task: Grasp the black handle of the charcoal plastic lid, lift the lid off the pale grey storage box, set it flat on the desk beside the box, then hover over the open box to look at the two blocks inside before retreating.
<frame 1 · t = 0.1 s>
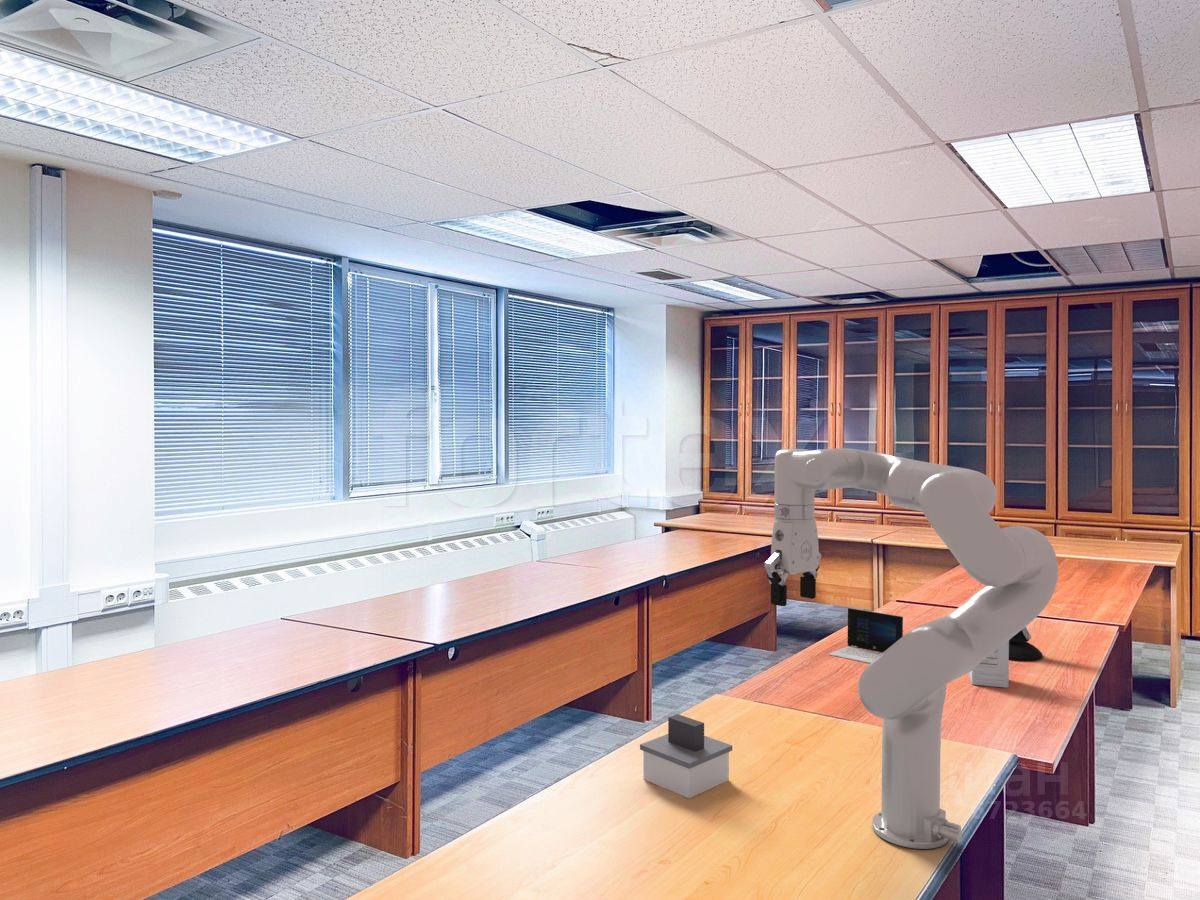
hand: (793, 601, 163), 37 cm above the table, tool pointing down, fingers open, 9 cm apart
sage block: (668, 775, 169), point 1 cm above the table, touching storage box
storage box: (686, 779, 169), on the table
laptop: (865, 658, 257), on the table
supplement box: (988, 682, 232), on the table
sculpture: (999, 652, 261), on the table
birch block: (703, 775, 169), point 1 cm above the table, touching storage box
lid: (686, 749, 169), point 6 cm above the table, touching storage box
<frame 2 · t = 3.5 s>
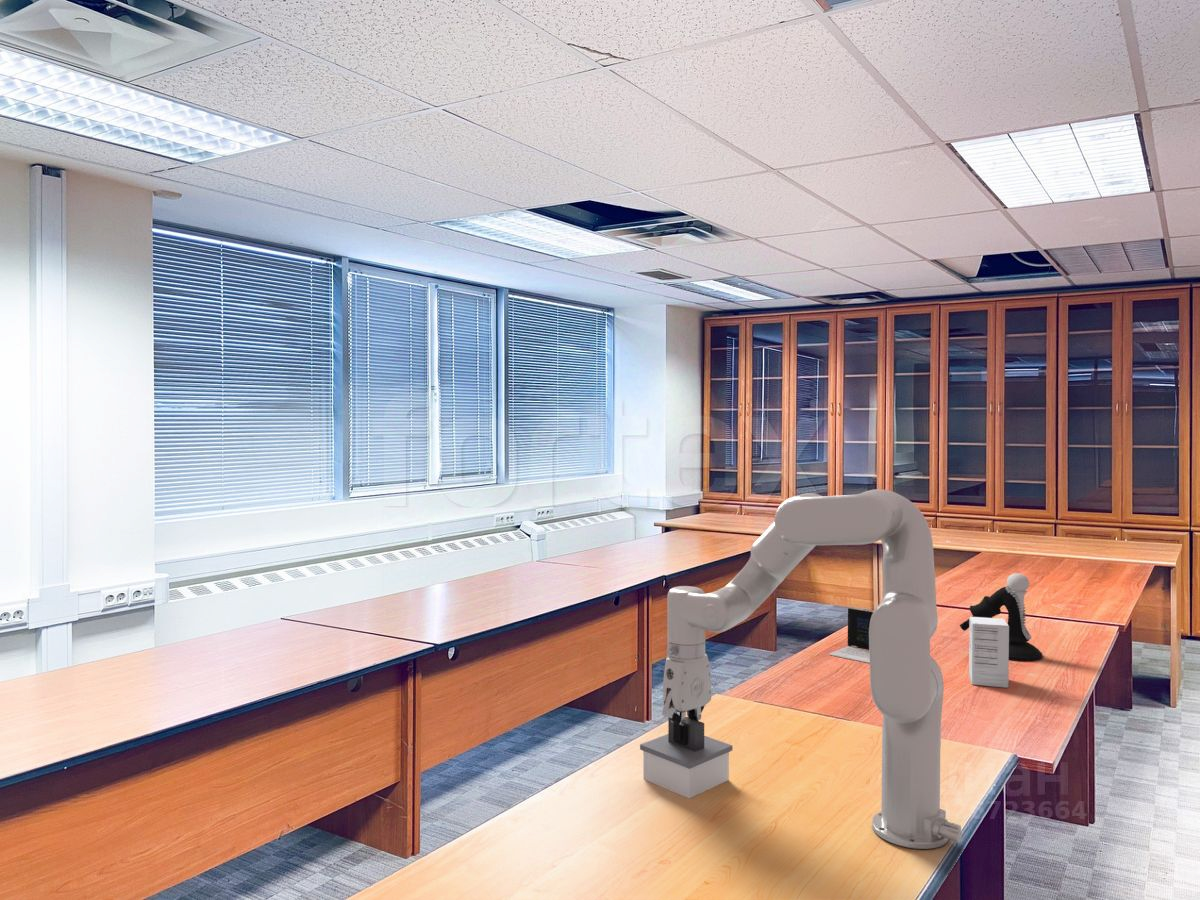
hand: (686, 740, 169), 8 cm above the table, tool pointing down, fingers closed on lid, 2 cm apart
lid: (686, 749, 169), point 6 cm above the table, touching gripper, storage box
everything else where it was.
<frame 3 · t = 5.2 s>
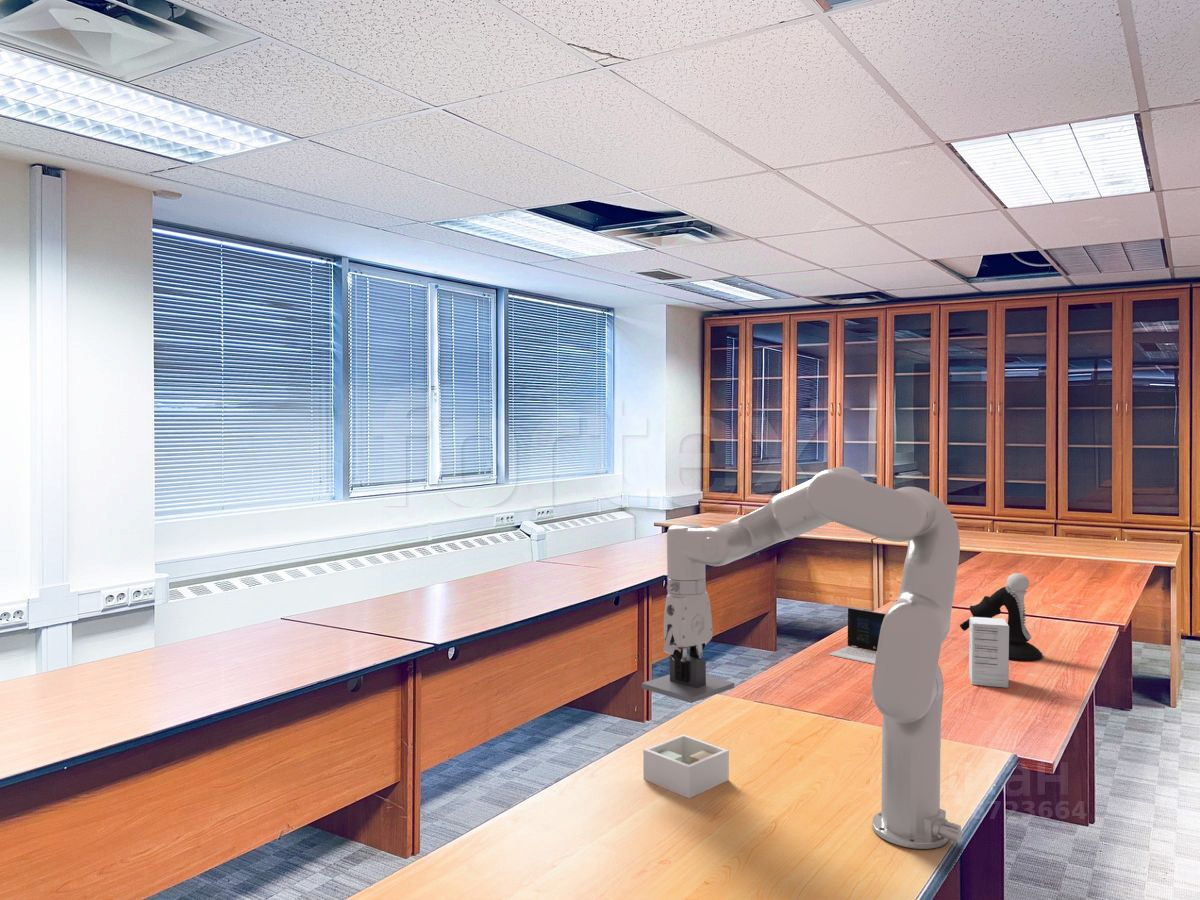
hand: (687, 678, 168), 21 cm above the table, tool pointing down, fingers closed on lid, 2 cm apart
lid: (687, 687, 168), point 19 cm above the table, touching gripper
everything else where it was.
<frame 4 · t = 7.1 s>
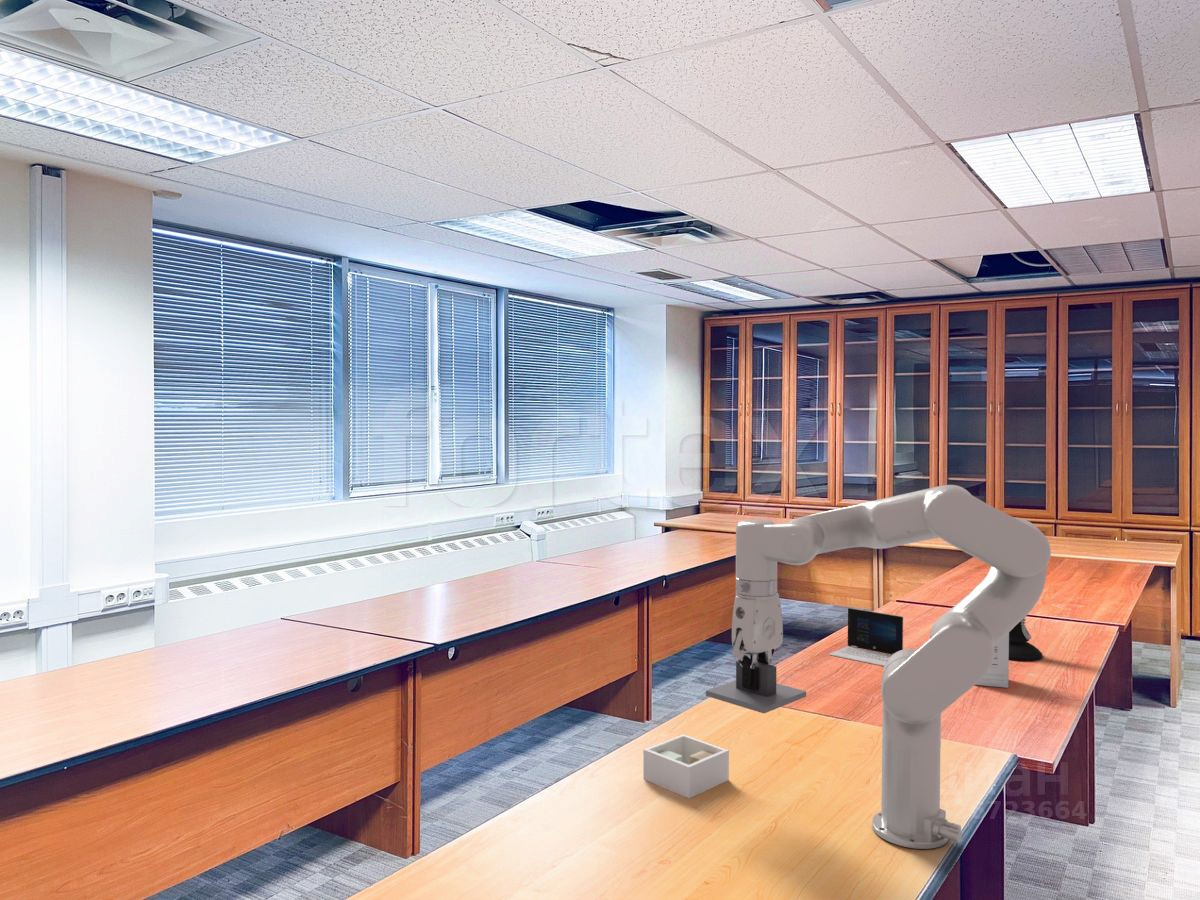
hand: (756, 685, 156), 23 cm above the table, tool pointing down, fingers closed on lid, 2 cm apart
lid: (755, 696, 156), point 21 cm above the table, touching gripper
everything else where it was.
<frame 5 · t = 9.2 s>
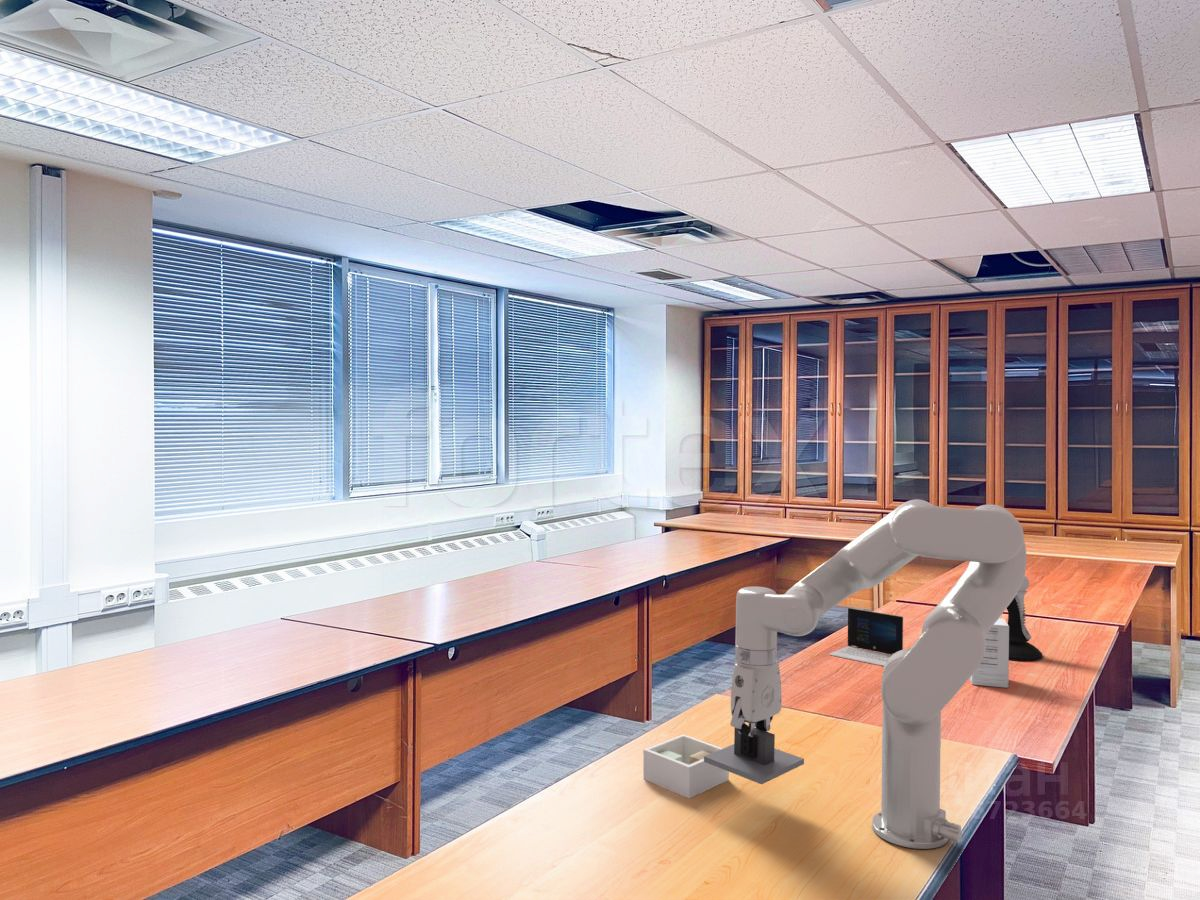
hand: (754, 752, 156), 10 cm above the table, tool pointing down, fingers closed on lid, 2 cm apart
lid: (753, 762, 156), point 8 cm above the table, touching gripper
everything else where it was.
when the fingers open (4 cm above the table, at t = 10.7 s): lid drops 3 cm, on the table.
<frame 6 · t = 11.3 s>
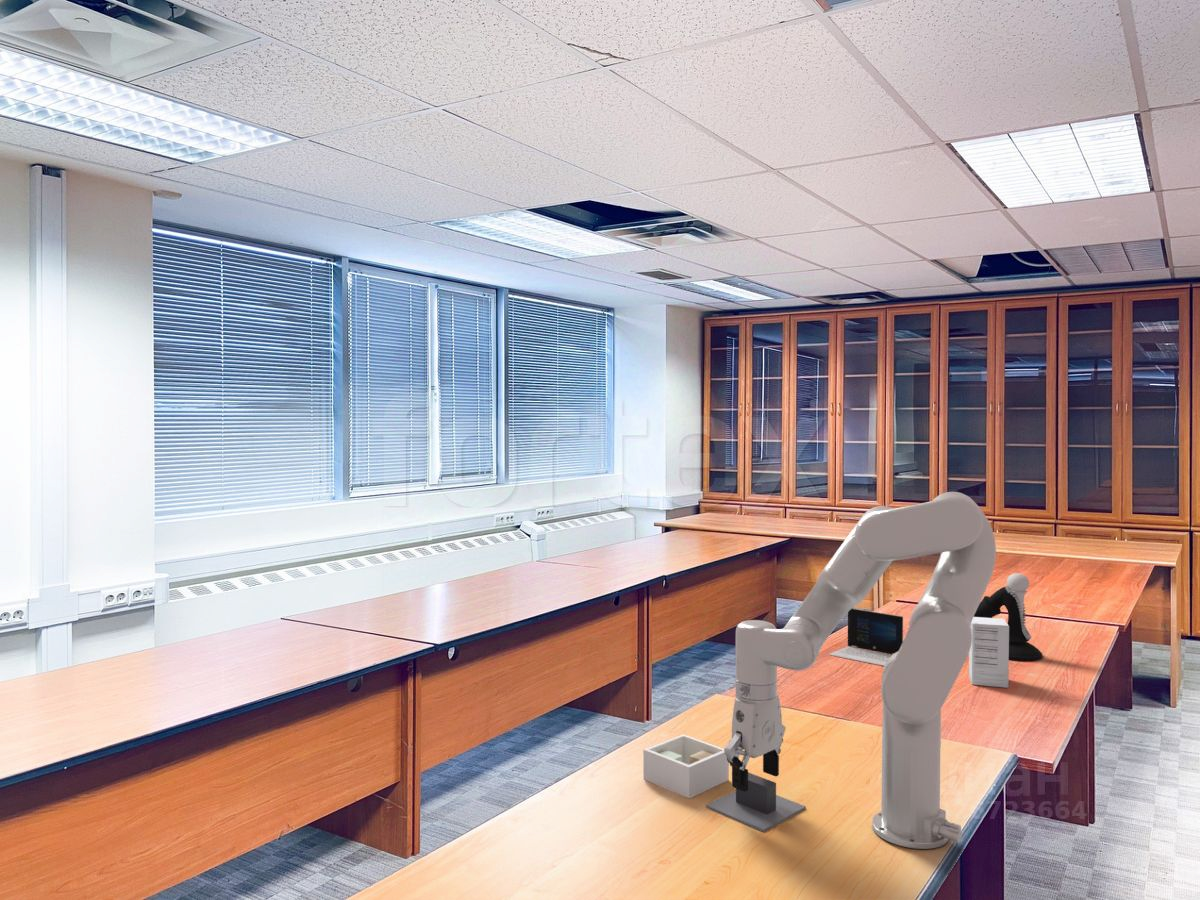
hand: (755, 781, 156), 5 cm above the table, tool pointing down, fingers open, 9 cm apart
lid: (755, 811, 157), on the table
everything else where it was.
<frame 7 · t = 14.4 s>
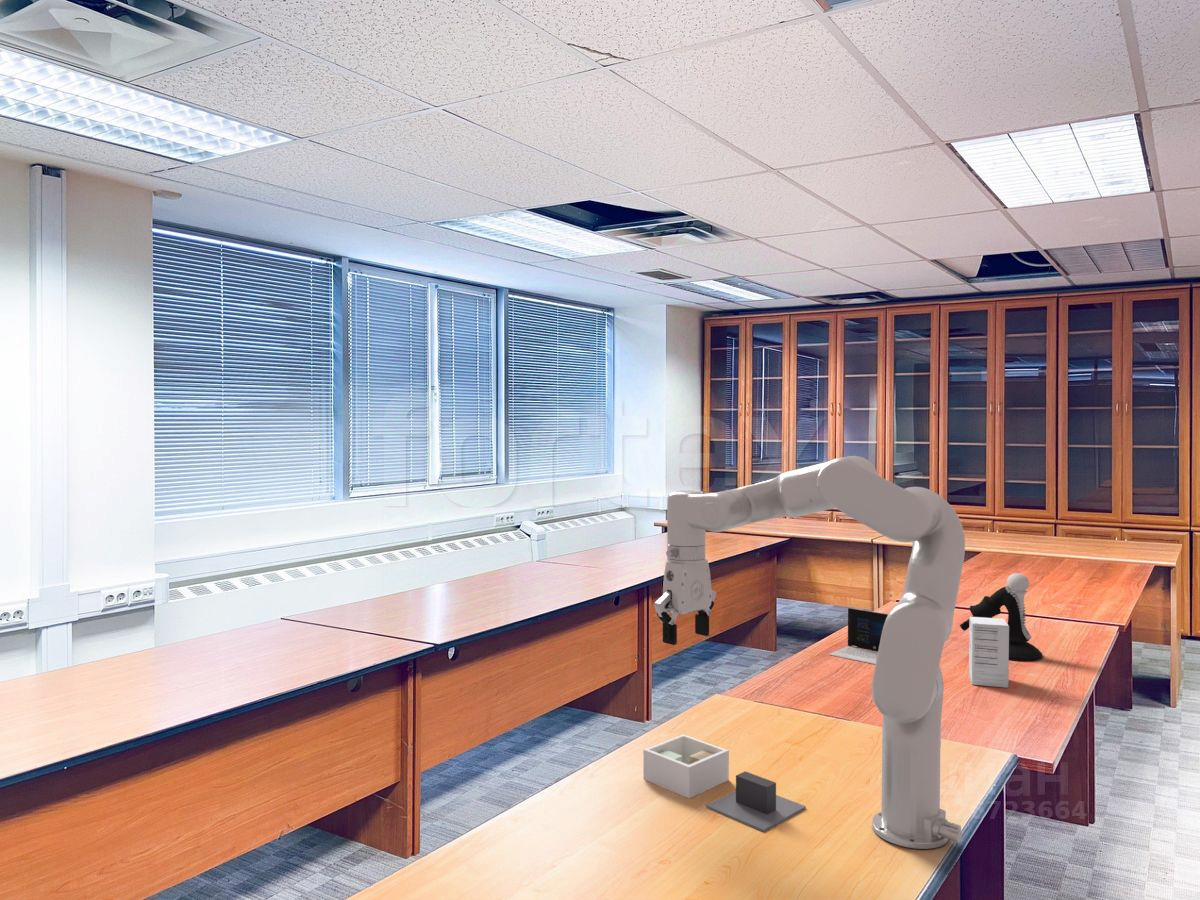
hand: (686, 639, 168), 28 cm above the table, tool pointing down, fingers open, 9 cm apart
nothing on the table moved.
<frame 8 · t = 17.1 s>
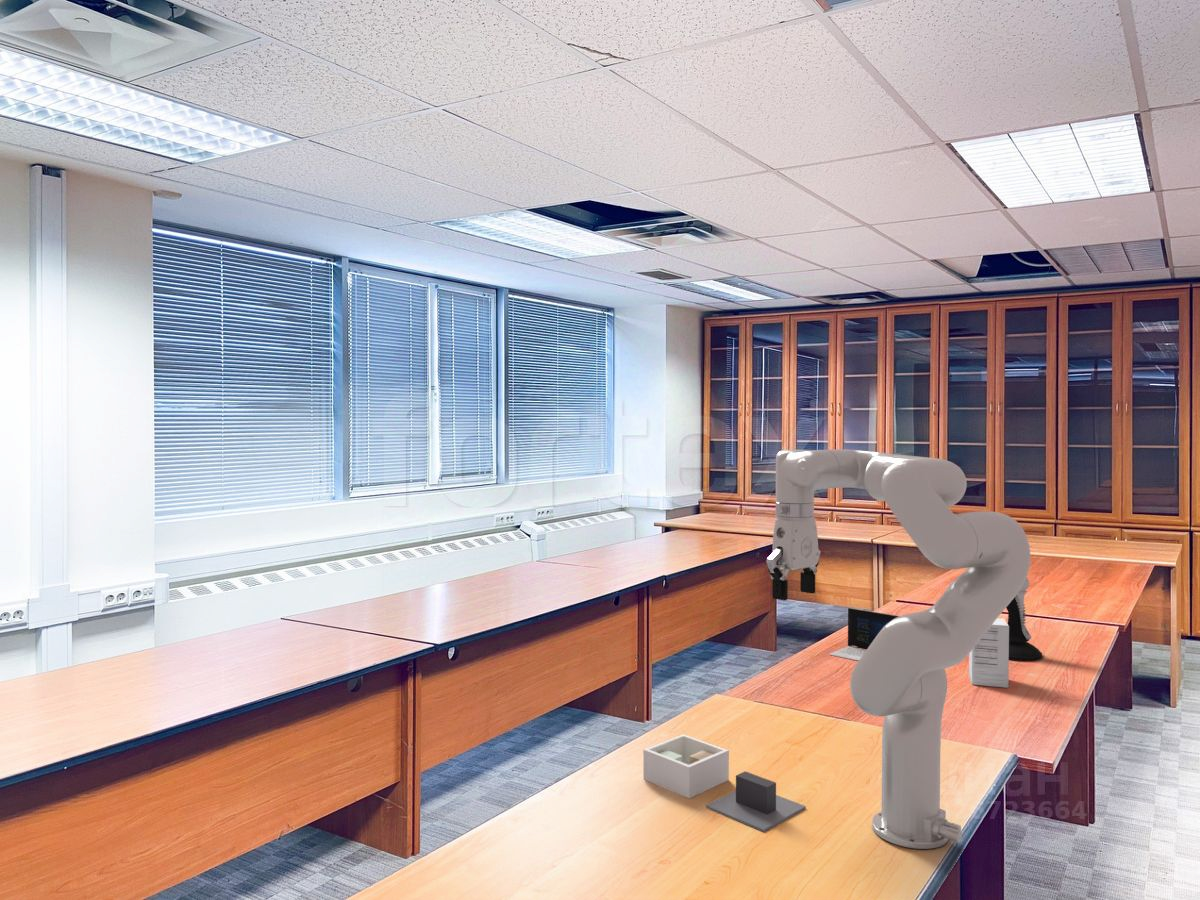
hand: (794, 595, 170), 36 cm above the table, tool pointing down, fingers open, 9 cm apart
nothing on the table moved.
at the end: lid inside the target area (0.0 cm from its centre), on the table; lid tilted 0°; the gripper is holding nothing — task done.
